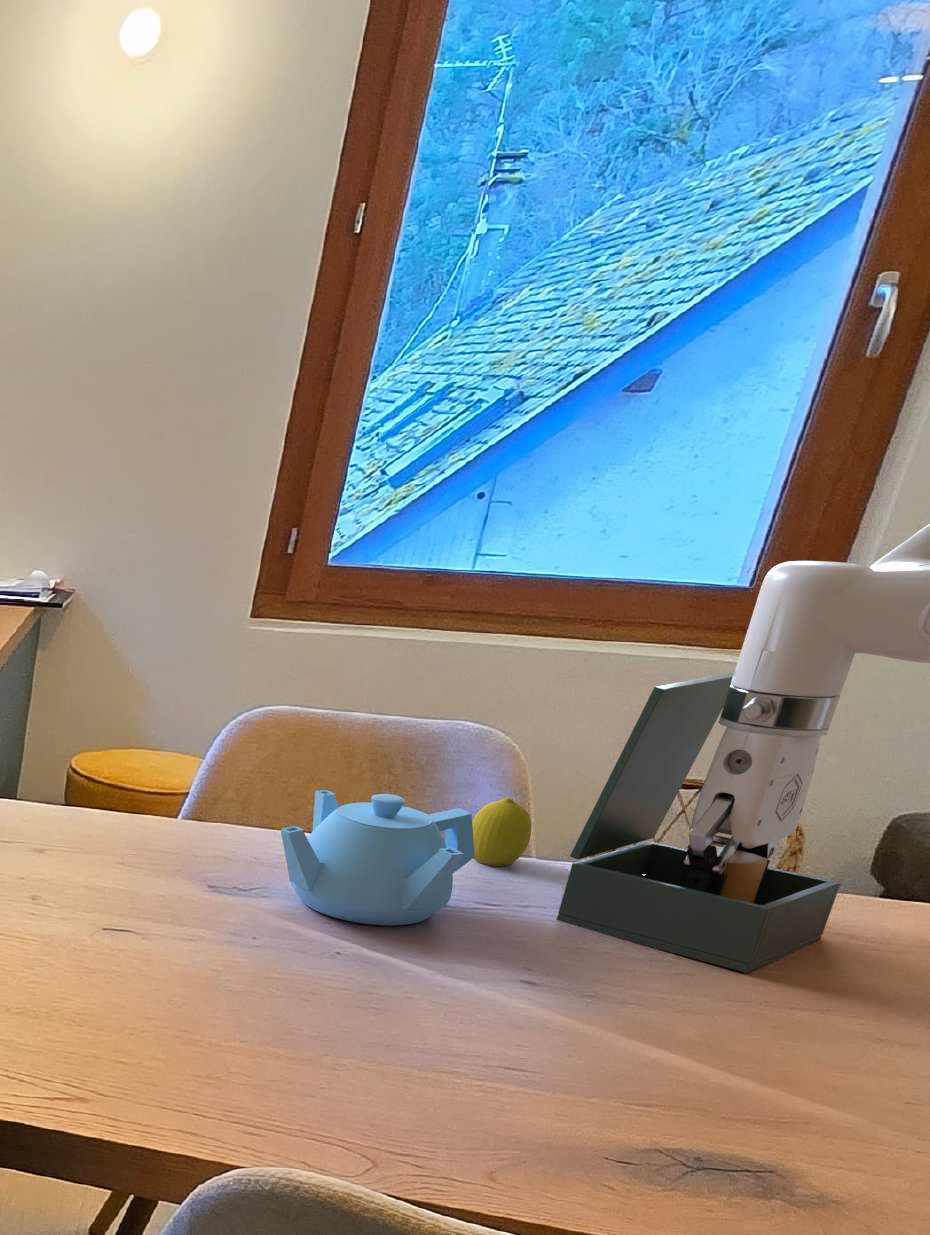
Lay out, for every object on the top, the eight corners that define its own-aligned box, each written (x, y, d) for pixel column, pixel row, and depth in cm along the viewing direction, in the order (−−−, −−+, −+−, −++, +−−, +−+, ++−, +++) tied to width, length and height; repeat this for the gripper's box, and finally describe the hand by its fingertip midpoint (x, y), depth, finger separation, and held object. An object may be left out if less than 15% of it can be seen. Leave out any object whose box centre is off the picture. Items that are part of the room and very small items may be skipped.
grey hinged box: (819, 943, 129) (841, 882, 126) (746, 973, 121) (768, 909, 119) (631, 897, 141) (648, 840, 139) (555, 921, 134) (572, 862, 131)
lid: (740, 675, 130) (731, 672, 130) (663, 689, 123) (654, 686, 123) (654, 838, 138) (645, 834, 139) (577, 860, 131) (569, 856, 132)
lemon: (530, 879, 146) (551, 805, 143) (476, 880, 146) (496, 806, 143) (501, 861, 151) (520, 789, 148) (448, 862, 151) (467, 790, 148)
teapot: (438, 947, 128) (468, 833, 123) (262, 912, 136) (284, 804, 131) (464, 897, 139) (493, 791, 134) (300, 867, 147) (322, 766, 142)
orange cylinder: (753, 932, 129) (778, 858, 126) (726, 942, 126) (751, 867, 124) (686, 915, 133) (709, 844, 130) (658, 925, 130) (681, 852, 128)
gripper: (784, 729, 115) (716, 933, 122) (872, 709, 123) (804, 900, 130) (680, 713, 121) (621, 909, 127) (771, 695, 129) (711, 879, 136)
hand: (713, 903), depth 129 cm, fingers open, 7 cm apart
